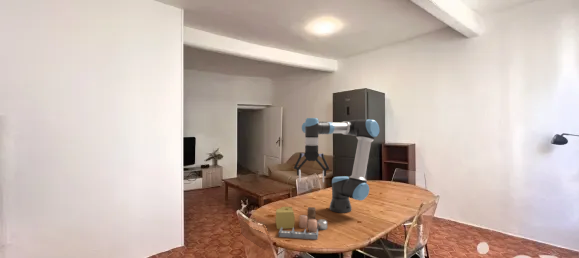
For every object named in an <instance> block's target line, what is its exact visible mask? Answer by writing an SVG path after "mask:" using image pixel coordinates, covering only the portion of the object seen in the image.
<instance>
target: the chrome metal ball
mask: <svg viewBox="0 0 579 258" xmlns="http://www.w3.org/2000/svg"><path fill="white" fill-rule="evenodd" d="M316 220H317V219H316ZM317 229H318V231H326V230H328V220H326V219H324V218H323V219H321V218H320V219H318V220H317Z"/></svg>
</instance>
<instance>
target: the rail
mask: <svg viewBox="0 0 579 258" xmlns="http://www.w3.org/2000/svg"><path fill="white" fill-rule="evenodd" d="M278 238H291V239H303V240H304V239H306V240H307V239H308V240H318V238H319V229H317V232H315V233H312V232H309V231H307V228H304V231H296V230H295V227H294V228H291V230H284V229H283V227H281V229H279V231H278Z"/></svg>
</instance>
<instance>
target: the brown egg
mask: <svg viewBox="0 0 579 258" xmlns="http://www.w3.org/2000/svg"><path fill="white" fill-rule="evenodd" d="M298 227H299V228H300V229H308V215H307V214H300V215H299V216H298Z"/></svg>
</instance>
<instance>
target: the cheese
mask: <svg viewBox="0 0 579 258" xmlns="http://www.w3.org/2000/svg"><path fill="white" fill-rule="evenodd" d="M275 224H276V229H277V230H280V229H281V227H283V230H284V229H285V230H286V229H293V228H294V229H295V224H296V223H295V212H294V210H293V207H292V206H281V207H280V208H276V211H275Z"/></svg>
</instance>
